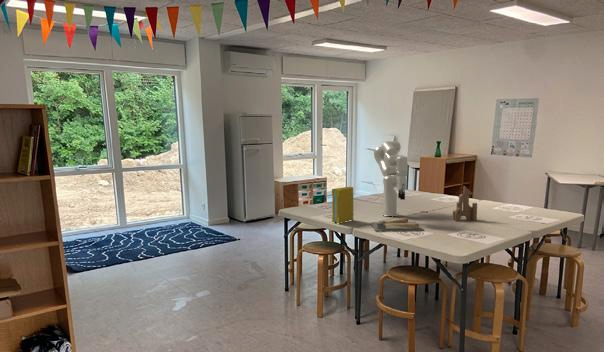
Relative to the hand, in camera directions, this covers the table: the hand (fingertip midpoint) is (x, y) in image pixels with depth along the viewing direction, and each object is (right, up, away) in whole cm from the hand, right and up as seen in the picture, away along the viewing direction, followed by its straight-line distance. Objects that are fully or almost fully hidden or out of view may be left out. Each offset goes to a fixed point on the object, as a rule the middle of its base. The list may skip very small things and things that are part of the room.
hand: (401, 198), depth 292 cm
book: (-41, -18, +7) cm, 45 cm away
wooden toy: (+47, -16, +5) cm, 50 cm away
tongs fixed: (-7, -19, -19) cm, 27 cm away
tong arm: (-9, -18, -12) cm, 23 cm away
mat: (-7, -19, -12) cm, 23 cm away
